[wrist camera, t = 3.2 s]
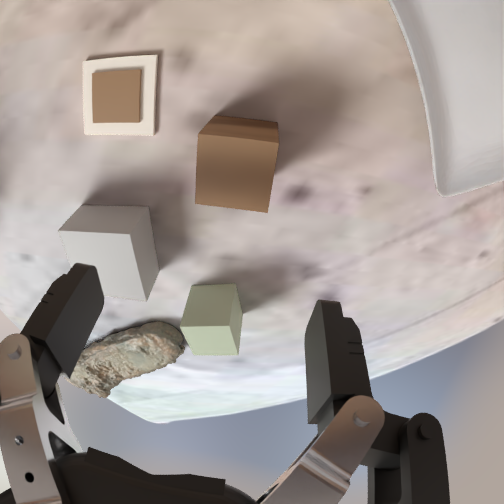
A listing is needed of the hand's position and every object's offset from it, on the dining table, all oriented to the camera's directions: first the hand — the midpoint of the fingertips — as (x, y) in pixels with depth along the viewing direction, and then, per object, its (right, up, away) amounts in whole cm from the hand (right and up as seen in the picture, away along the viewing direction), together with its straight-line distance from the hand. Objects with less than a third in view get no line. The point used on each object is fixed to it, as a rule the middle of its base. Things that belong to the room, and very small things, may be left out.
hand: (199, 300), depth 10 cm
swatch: (-9, +15, +11) cm, 21 cm away
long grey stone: (-22, -16, +35) cm, 44 cm away
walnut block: (+1, +10, +13) cm, 17 cm away
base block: (-12, +3, +20) cm, 24 cm away
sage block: (-2, -4, +24) cm, 25 cm away
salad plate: (+24, +19, +6) cm, 31 cm away
